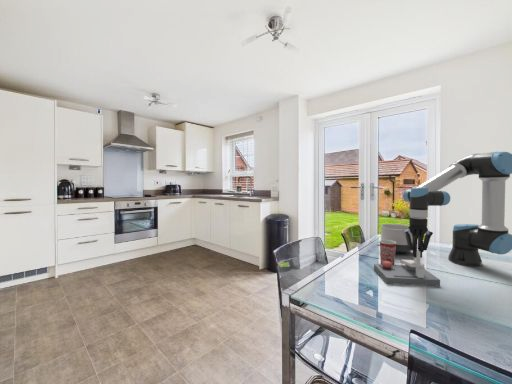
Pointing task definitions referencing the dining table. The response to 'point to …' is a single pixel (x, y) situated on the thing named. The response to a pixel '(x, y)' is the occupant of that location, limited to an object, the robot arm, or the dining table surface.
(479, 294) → the dining table surface
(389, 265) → the button
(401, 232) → the planter
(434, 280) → the panel
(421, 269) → the slider
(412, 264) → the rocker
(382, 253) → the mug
